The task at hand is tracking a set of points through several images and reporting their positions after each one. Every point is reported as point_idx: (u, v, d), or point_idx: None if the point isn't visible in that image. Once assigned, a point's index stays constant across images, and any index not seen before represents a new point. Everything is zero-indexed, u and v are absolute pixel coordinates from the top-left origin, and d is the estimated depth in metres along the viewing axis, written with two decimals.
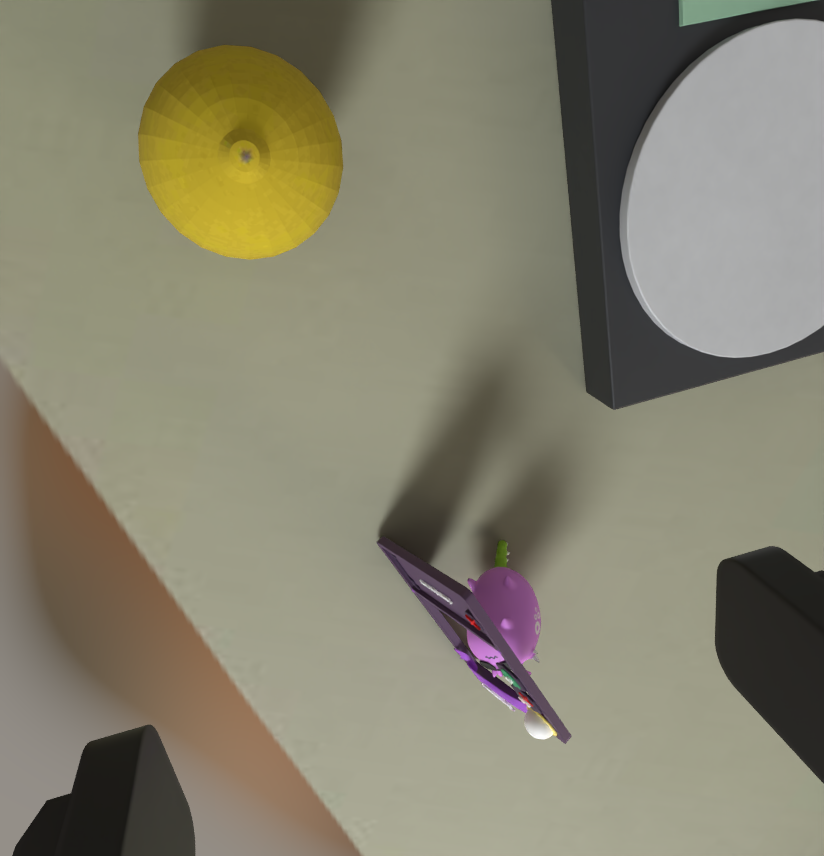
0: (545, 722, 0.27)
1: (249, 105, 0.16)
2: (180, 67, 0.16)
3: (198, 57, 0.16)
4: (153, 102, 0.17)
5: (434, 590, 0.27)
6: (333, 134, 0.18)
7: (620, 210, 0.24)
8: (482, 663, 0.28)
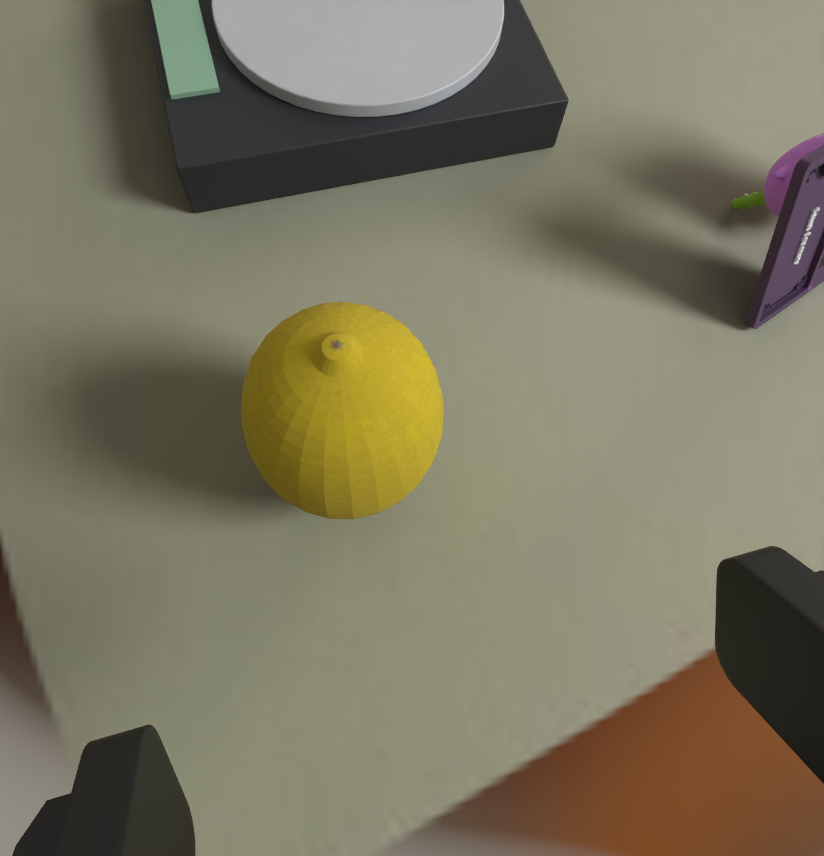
0: None
1: (290, 353, 0.16)
2: (260, 440, 0.17)
3: (251, 424, 0.17)
4: (293, 465, 0.16)
5: (804, 237, 0.23)
6: None
7: (374, 116, 0.25)
8: None
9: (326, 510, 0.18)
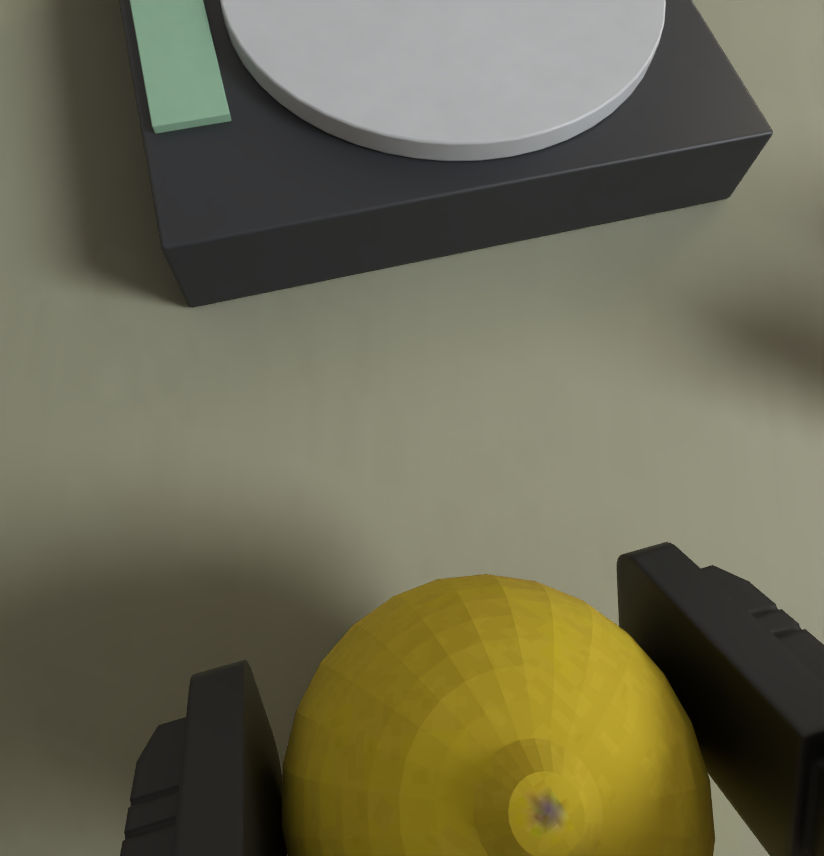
0: None
1: (416, 792, 0.06)
2: None
3: None
4: None
5: None
6: (439, 591, 0.09)
7: (476, 160, 0.16)
8: None
9: None
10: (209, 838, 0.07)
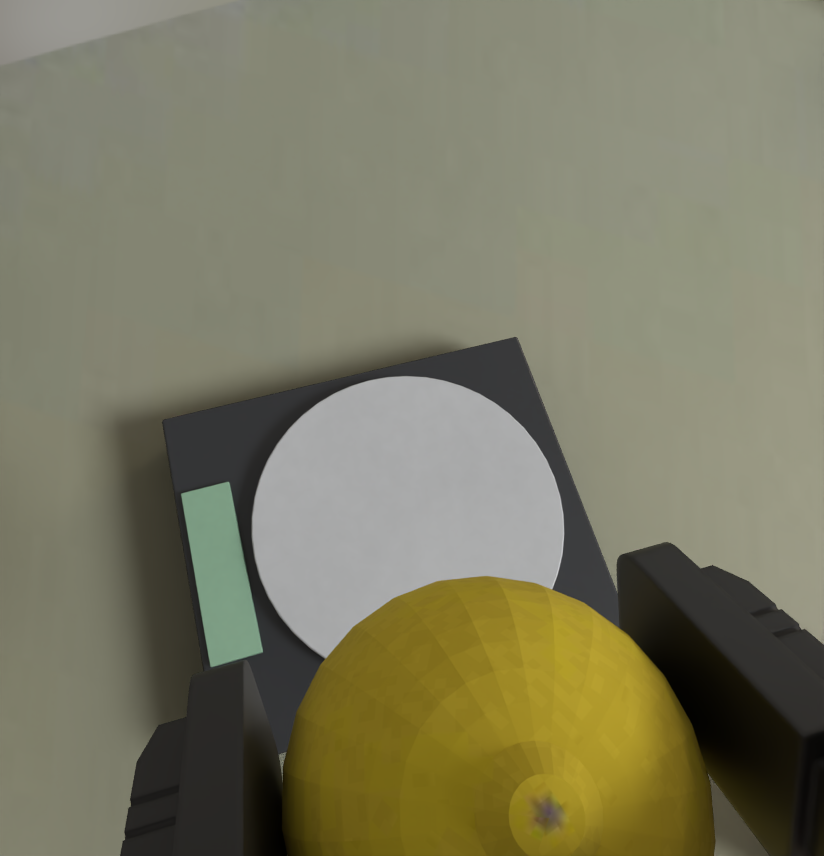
0: None
1: (416, 795, 0.06)
2: None
3: None
4: None
5: None
6: (439, 592, 0.09)
7: None
8: None
9: None
10: (209, 838, 0.07)
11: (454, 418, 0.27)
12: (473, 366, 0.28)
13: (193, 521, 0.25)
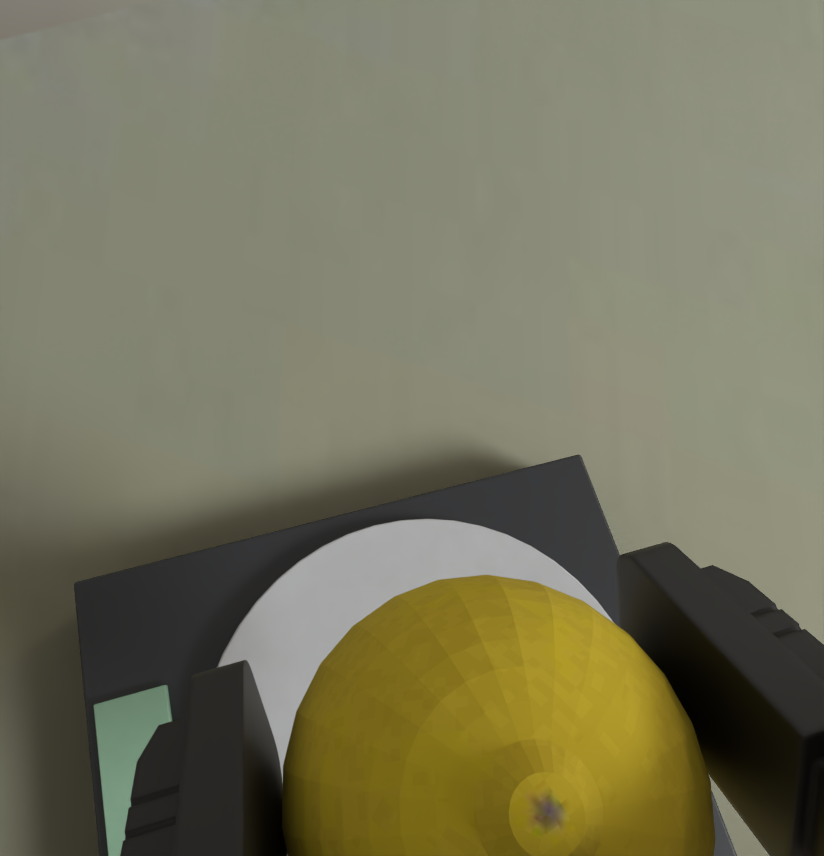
0: None
1: (416, 794, 0.06)
2: None
3: None
4: None
5: None
6: (439, 591, 0.09)
7: None
8: None
9: None
10: (209, 838, 0.07)
11: None
12: (521, 500, 0.20)
13: (110, 752, 0.17)
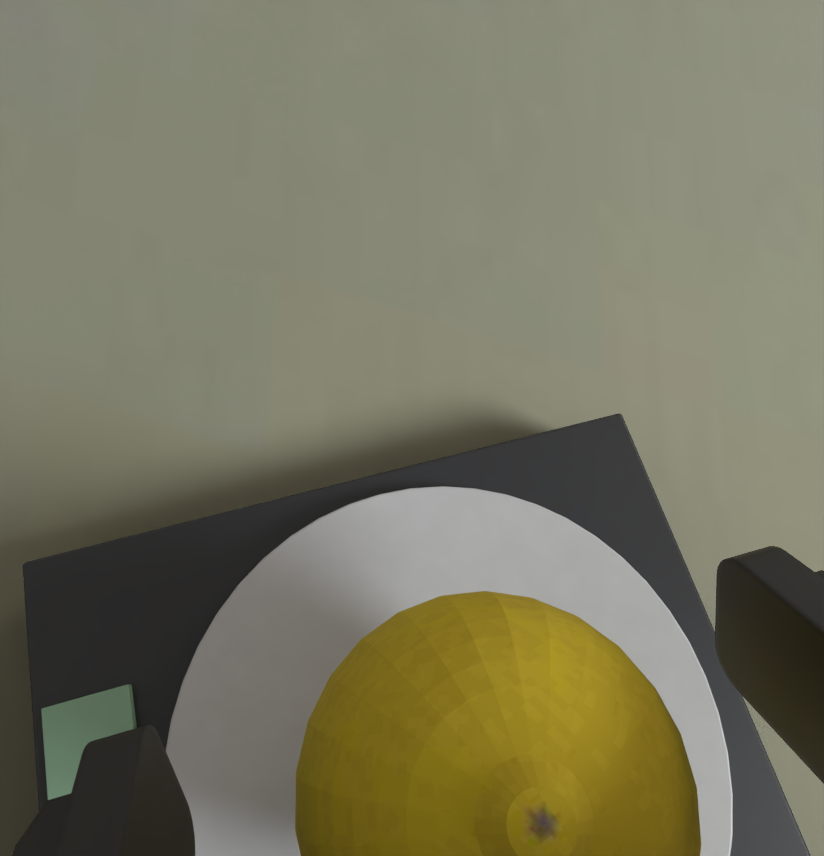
0: None
1: (420, 805, 0.07)
2: None
3: None
4: None
5: None
6: (442, 610, 0.09)
7: None
8: None
9: None
10: None
11: (526, 565, 0.15)
12: (552, 465, 0.17)
13: (60, 766, 0.14)
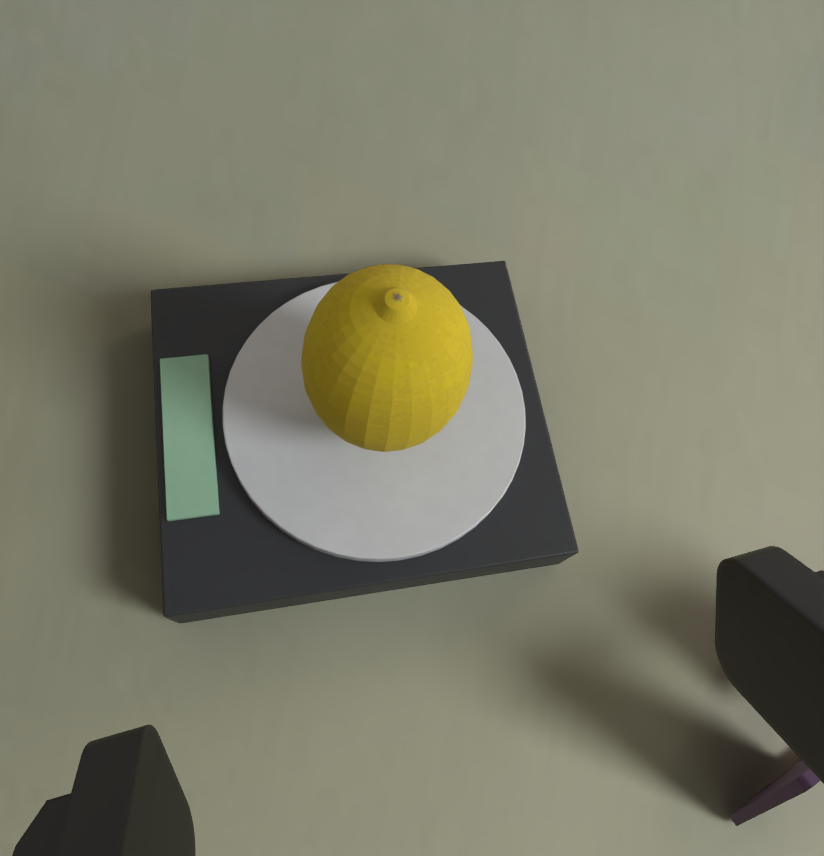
0: None
1: (356, 300, 0.19)
2: (320, 370, 0.20)
3: (314, 356, 0.20)
4: (346, 394, 0.20)
5: None
6: None
7: (376, 561, 0.24)
8: None
9: (365, 438, 0.21)
10: None
11: None
12: (459, 282, 0.29)
13: (168, 386, 0.26)
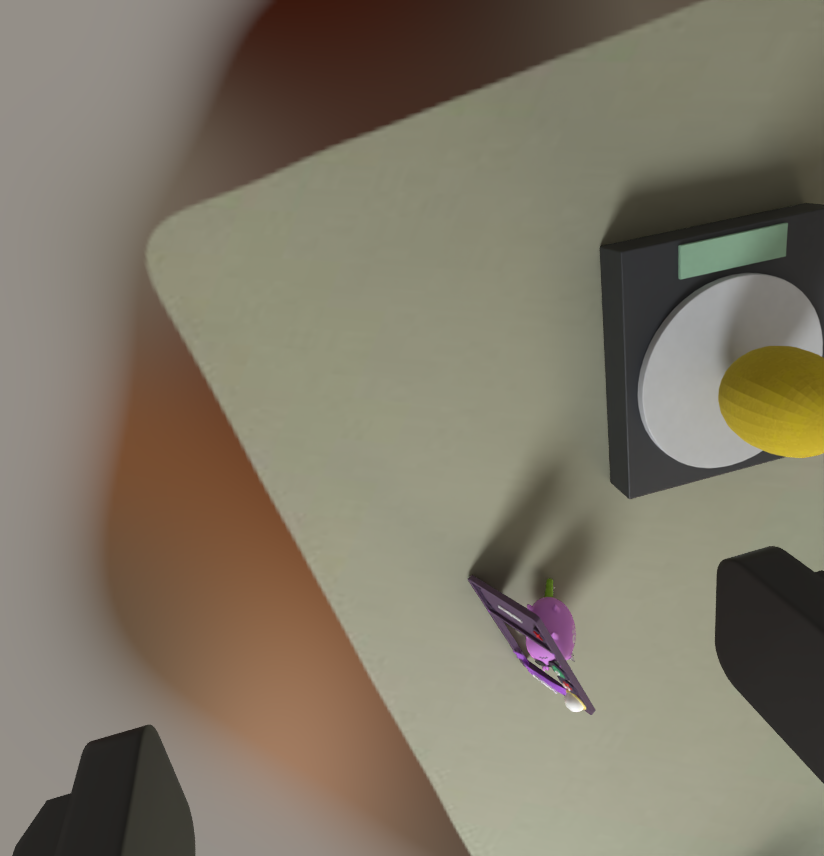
0: (579, 700, 0.41)
1: None
2: (796, 374, 0.33)
3: (805, 370, 0.33)
4: (780, 391, 0.33)
5: (509, 613, 0.41)
6: None
7: (638, 381, 0.38)
8: (536, 661, 0.43)
9: (741, 392, 0.34)
10: None
11: None
12: None
13: (768, 232, 0.36)
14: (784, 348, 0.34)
